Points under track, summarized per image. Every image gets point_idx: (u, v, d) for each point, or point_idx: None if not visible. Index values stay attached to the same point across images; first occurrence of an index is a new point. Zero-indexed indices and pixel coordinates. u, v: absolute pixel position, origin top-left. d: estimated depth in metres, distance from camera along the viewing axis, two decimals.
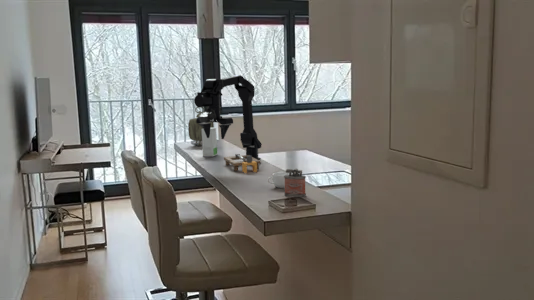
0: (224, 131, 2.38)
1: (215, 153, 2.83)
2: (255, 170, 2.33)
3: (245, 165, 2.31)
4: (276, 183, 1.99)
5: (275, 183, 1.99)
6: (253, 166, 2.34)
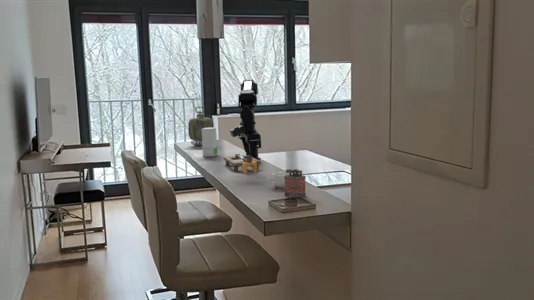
0: (252, 147, 2.27)
1: (215, 153, 2.83)
2: (255, 170, 2.33)
3: (245, 165, 2.31)
4: (276, 183, 1.99)
5: (275, 183, 1.99)
6: (253, 166, 2.34)
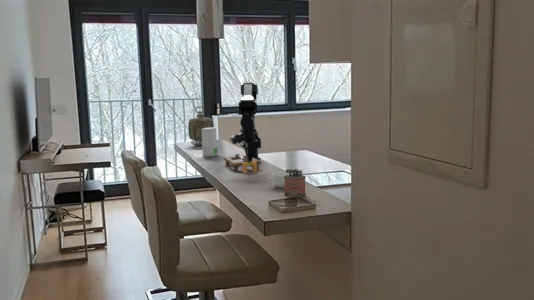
0: (250, 153, 2.31)
1: (215, 153, 2.83)
2: (255, 170, 2.33)
3: (245, 165, 2.31)
4: (276, 183, 1.99)
5: (275, 183, 1.99)
6: (253, 166, 2.34)
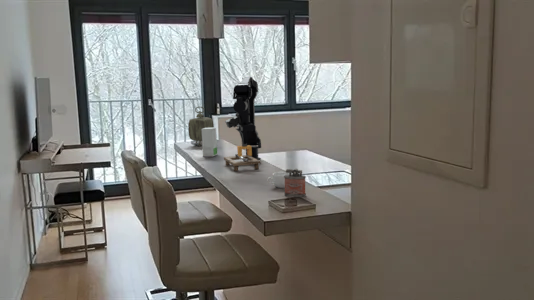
0: (245, 136, 2.37)
1: (215, 153, 2.83)
2: (250, 154, 2.39)
3: (240, 149, 2.38)
4: (276, 183, 1.99)
5: (275, 183, 1.99)
6: (248, 150, 2.41)
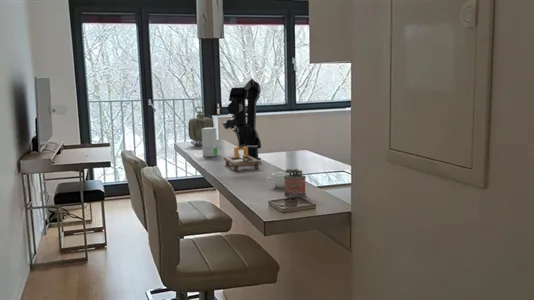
0: (242, 137, 2.43)
1: (215, 153, 2.83)
2: (246, 155, 2.45)
3: (237, 150, 2.43)
4: (276, 183, 1.99)
5: (275, 183, 1.99)
6: (244, 151, 2.46)
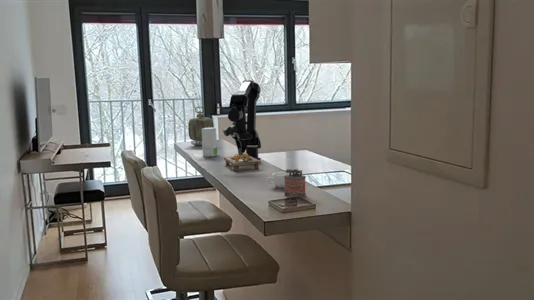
0: (244, 145, 2.41)
1: (215, 153, 2.83)
2: None
3: (237, 157, 2.44)
4: (276, 183, 1.99)
5: (275, 183, 1.99)
6: None
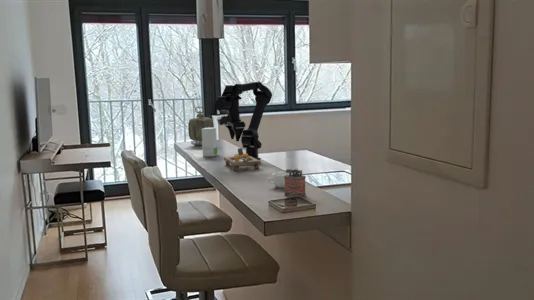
0: (238, 134, 2.49)
1: (215, 153, 2.83)
2: None
3: (237, 158, 2.44)
4: (276, 183, 1.99)
5: (275, 183, 1.99)
6: None
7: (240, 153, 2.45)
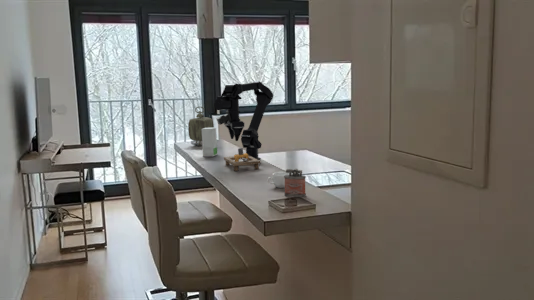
0: (237, 134, 2.49)
1: (215, 153, 2.83)
2: None
3: (237, 157, 2.44)
4: (276, 183, 1.99)
5: (275, 183, 1.99)
6: None
7: (240, 153, 2.45)
